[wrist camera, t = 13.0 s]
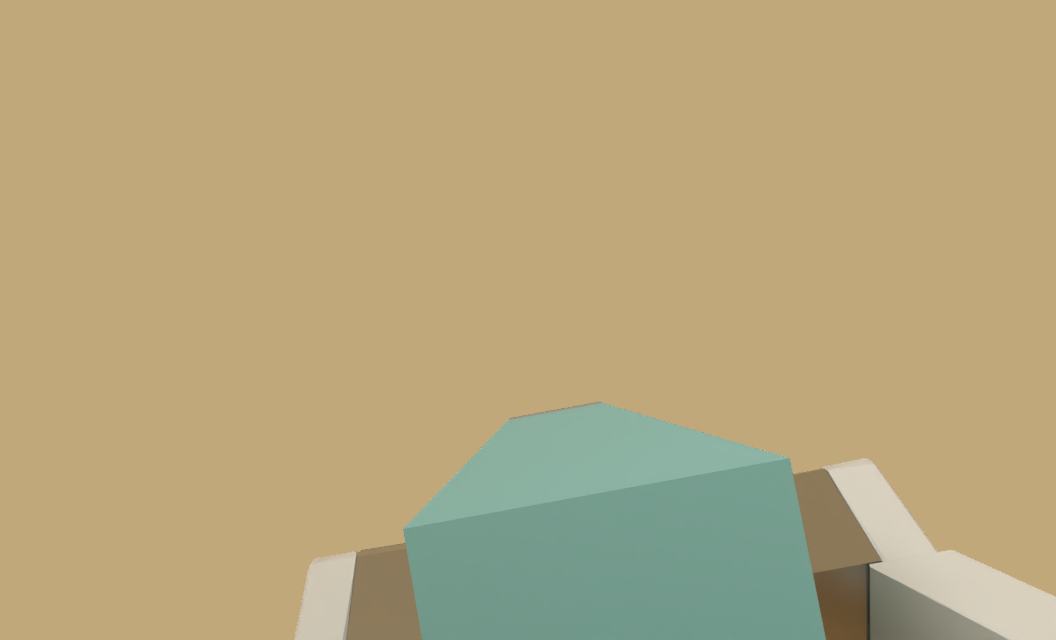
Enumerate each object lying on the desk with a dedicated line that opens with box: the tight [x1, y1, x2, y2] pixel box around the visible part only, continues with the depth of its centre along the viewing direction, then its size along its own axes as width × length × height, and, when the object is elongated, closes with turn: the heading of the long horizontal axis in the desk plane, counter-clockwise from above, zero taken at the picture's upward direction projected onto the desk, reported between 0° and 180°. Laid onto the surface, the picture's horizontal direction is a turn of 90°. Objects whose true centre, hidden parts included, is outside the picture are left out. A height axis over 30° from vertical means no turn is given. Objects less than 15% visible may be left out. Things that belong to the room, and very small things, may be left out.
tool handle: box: [403, 402, 826, 640], centre depth 20 cm, size 25×3×3 cm, turn 0°
